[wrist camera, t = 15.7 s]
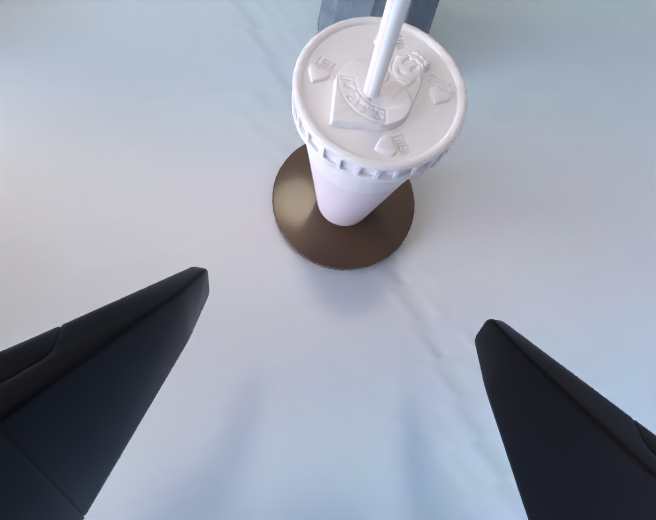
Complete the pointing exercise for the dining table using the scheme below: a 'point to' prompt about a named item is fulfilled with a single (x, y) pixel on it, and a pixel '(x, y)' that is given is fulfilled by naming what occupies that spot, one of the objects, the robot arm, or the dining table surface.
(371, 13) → the moka pot
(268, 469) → the dining table surface
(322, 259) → the disc
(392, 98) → the smoothie
